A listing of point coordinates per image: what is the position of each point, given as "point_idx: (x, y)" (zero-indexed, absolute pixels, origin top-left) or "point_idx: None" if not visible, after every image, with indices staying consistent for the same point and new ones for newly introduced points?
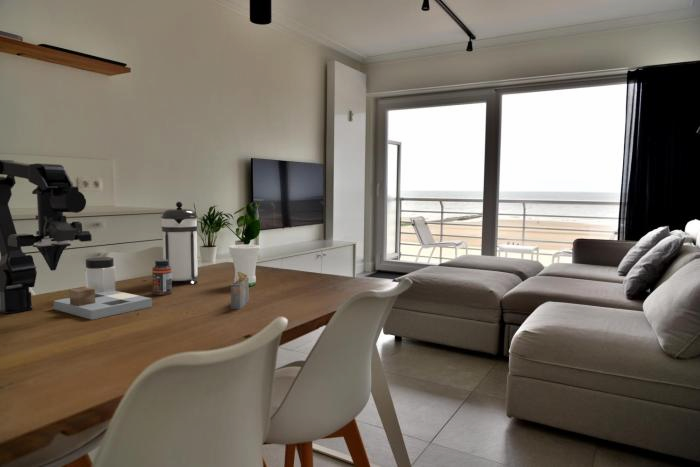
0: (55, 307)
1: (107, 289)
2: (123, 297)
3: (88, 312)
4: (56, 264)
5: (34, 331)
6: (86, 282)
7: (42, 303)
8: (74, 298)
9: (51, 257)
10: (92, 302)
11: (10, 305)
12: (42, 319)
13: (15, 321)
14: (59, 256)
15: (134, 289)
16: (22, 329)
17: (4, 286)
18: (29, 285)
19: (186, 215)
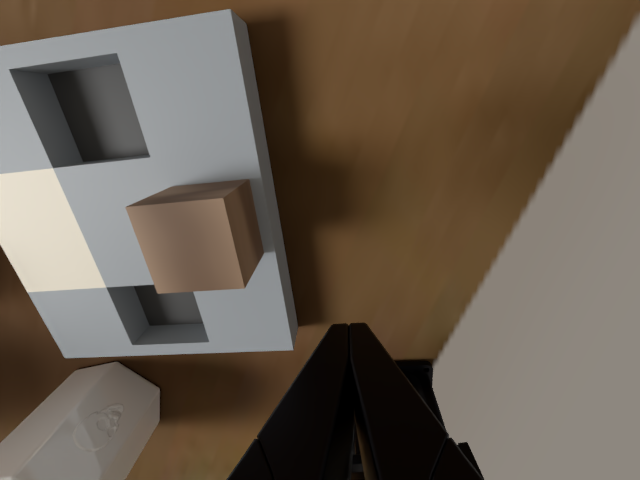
0: (295, 322)
1: (82, 385)
2: (38, 200)
3: (243, 54)
4: (321, 362)
5: (517, 6)
6: (130, 459)
7: None
8: (247, 226)
9: (420, 461)
10: (182, 185)
11: (420, 393)
12: (389, 210)
13: (464, 254)
14: (256, 464)
15: (8, 395)
16: (523, 96)
17: (477, 466)
18: (354, 463)
19: None
